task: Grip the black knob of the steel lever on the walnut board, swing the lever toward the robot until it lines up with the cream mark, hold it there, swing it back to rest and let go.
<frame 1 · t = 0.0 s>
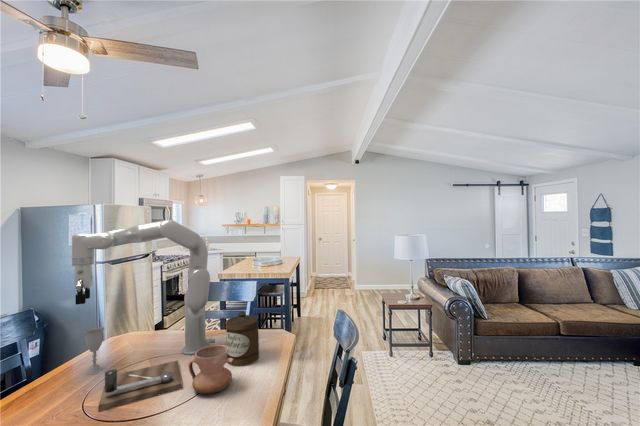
hand: (83, 301, 126), 31 cm above the table, tool pointing down, fingers open, 9 cm apart
lever board: (143, 384, 116), on the table
chalice: (94, 372, 128), on the table
lever: (140, 375, 111), point 7 cm above the table, hinge at 0.0°
wooden container: (242, 359, 137), on the table
ceramic jug: (211, 387, 114), on the table
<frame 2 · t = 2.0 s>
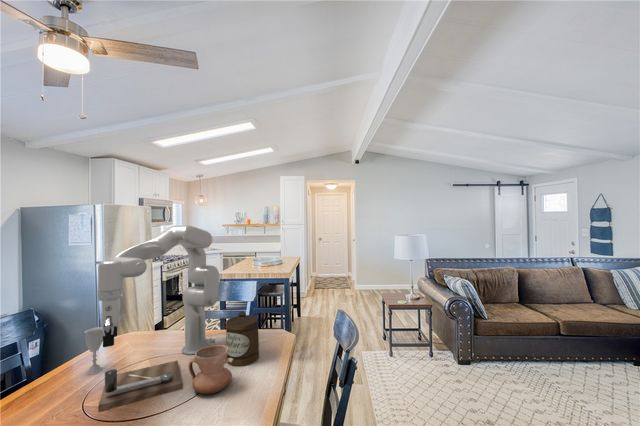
hand: (110, 341, 106), 22 cm above the table, tool pointing down, fingers open, 9 cm apart
nothing on the table moved.
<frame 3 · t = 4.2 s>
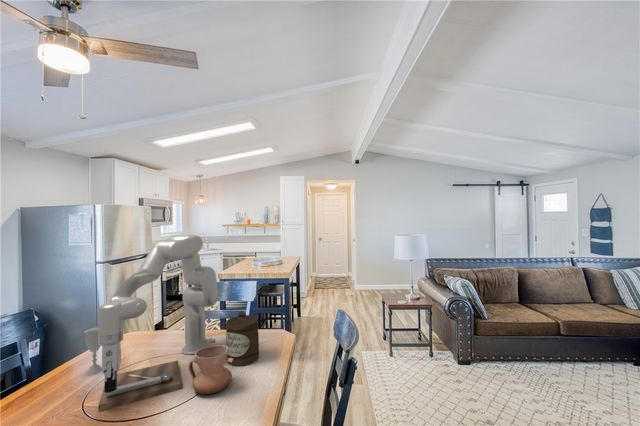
hand: (110, 387, 106), 5 cm above the table, tool pointing down, fingers closed on lever, 3 cm apart
lever: (140, 375, 111), point 7 cm above the table, hinge at 0.0°, touching gripper
everything else where it was.
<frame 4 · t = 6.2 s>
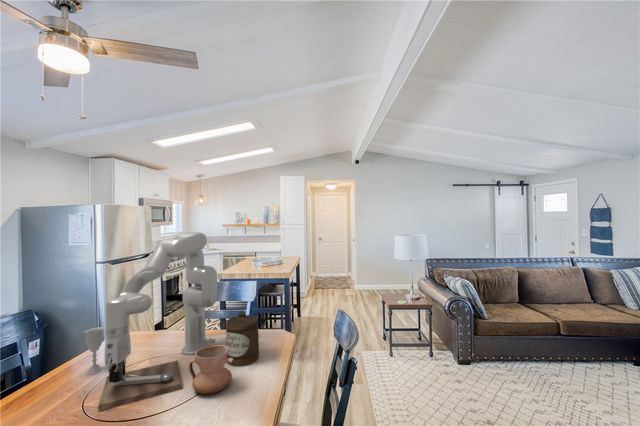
hand: (117, 378, 113), 5 cm above the table, tool pointing down, fingers closed on lever, 3 cm apart
lever: (142, 371, 114), point 7 cm above the table, hinge at 22.2°, touching gripper
everything else where it was.
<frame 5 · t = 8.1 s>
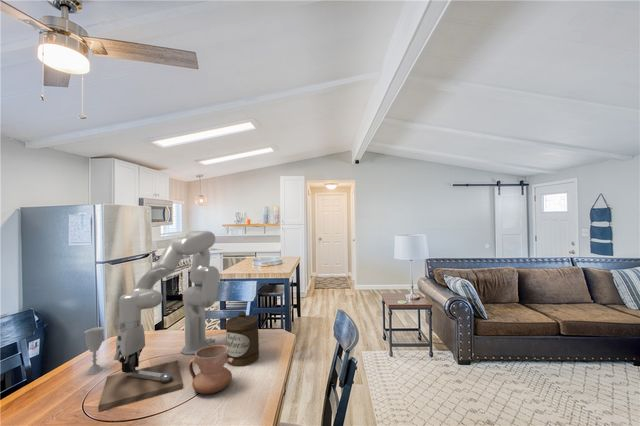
hand: (130, 368, 120), 5 cm above the table, tool pointing down, fingers closed on lever, 3 cm apart
lever: (148, 367, 117), point 7 cm above the table, hinge at 44.7°, touching gripper
everything else where it was.
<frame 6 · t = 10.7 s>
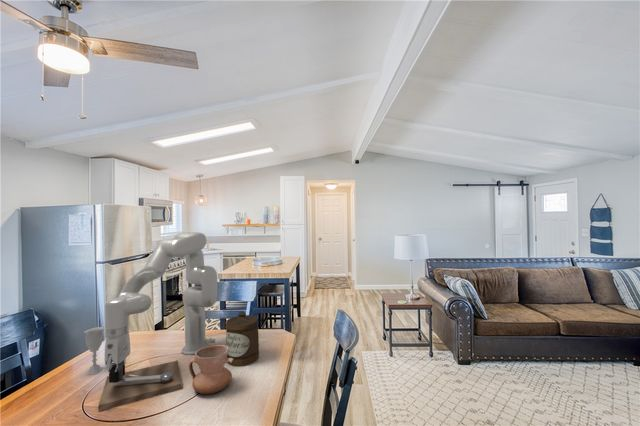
hand: (117, 378, 113), 5 cm above the table, tool pointing down, fingers closed on lever, 3 cm apart
lever: (142, 371, 114), point 6 cm above the table, hinge at 21.7°, touching gripper
everything else where it was.
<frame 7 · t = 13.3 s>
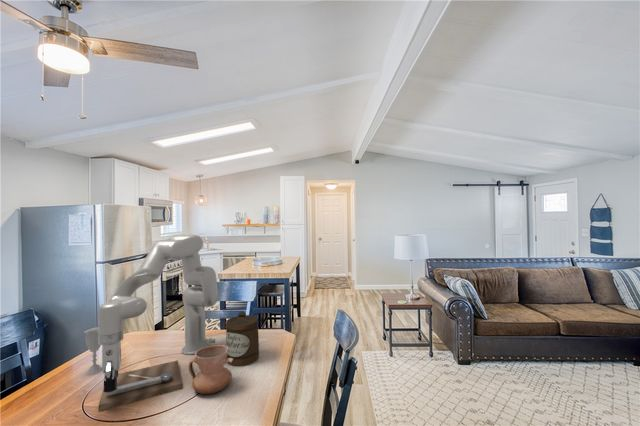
hand: (111, 384, 106), 6 cm above the table, tool pointing down, fingers open, 9 cm apart
lever: (140, 375, 111), point 7 cm above the table, hinge at 0.5°
everything else where it was.
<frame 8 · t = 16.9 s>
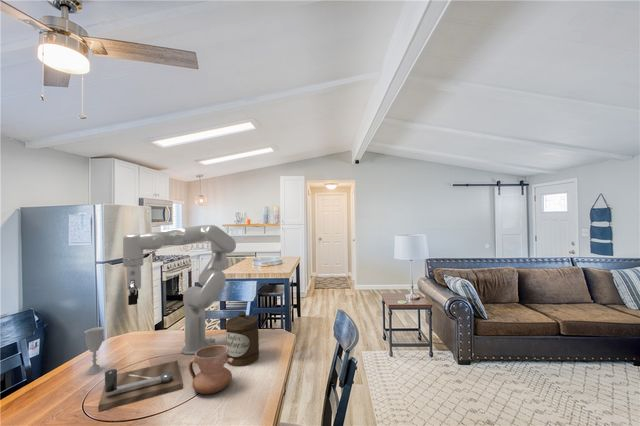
hand: (133, 301, 127), 30 cm above the table, tool pointing down, fingers open, 9 cm apart
nothing on the table moved.
at the end: lever at +0° (first picture: +0°); the gripper is holding nothing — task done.
